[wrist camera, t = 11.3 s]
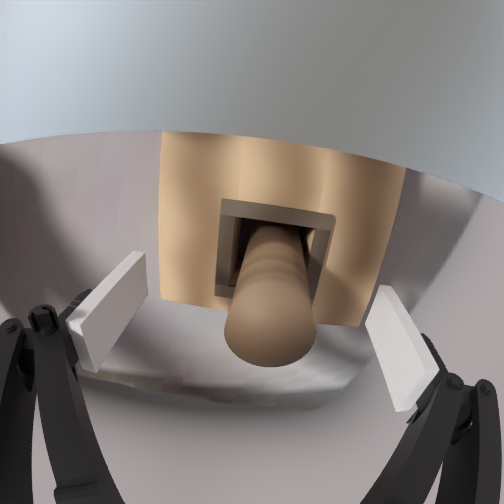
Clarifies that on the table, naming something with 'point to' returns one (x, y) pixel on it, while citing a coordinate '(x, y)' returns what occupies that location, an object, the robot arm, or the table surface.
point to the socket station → (269, 118)
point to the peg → (271, 299)
